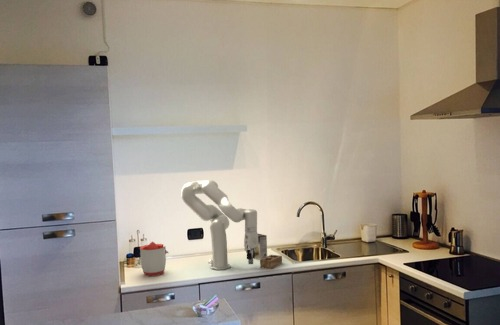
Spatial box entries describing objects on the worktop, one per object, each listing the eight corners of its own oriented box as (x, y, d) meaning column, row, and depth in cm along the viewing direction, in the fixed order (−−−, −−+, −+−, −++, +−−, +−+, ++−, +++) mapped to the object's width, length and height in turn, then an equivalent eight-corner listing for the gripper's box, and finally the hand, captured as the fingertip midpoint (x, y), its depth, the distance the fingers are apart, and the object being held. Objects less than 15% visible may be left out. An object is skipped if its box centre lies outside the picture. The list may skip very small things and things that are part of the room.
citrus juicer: (172, 274, 285) (170, 241, 284) (143, 278, 278) (141, 245, 277) (166, 268, 299) (164, 237, 298) (139, 272, 292) (137, 241, 292)
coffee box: (251, 258, 316) (250, 234, 316) (259, 256, 320) (258, 233, 319) (260, 260, 309) (259, 236, 308) (267, 258, 313) (266, 234, 312)
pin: (247, 263, 291) (247, 247, 291) (249, 262, 294) (250, 247, 293) (251, 264, 290) (251, 248, 289) (254, 263, 292) (254, 247, 292)
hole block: (260, 267, 291) (260, 259, 291) (271, 262, 303) (270, 254, 303) (271, 269, 287) (271, 260, 287) (282, 263, 299) (281, 255, 299)
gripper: (249, 232, 282) (249, 262, 283) (262, 228, 296) (262, 256, 297) (238, 231, 286) (238, 260, 287) (252, 226, 300) (252, 255, 301)
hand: (250, 258), depth 292 cm, fingers closed on pin, 3 cm apart
